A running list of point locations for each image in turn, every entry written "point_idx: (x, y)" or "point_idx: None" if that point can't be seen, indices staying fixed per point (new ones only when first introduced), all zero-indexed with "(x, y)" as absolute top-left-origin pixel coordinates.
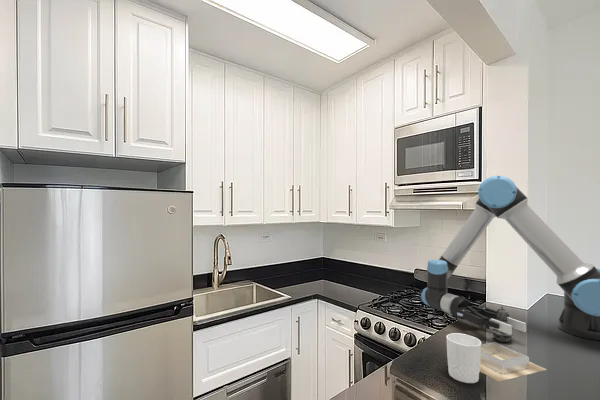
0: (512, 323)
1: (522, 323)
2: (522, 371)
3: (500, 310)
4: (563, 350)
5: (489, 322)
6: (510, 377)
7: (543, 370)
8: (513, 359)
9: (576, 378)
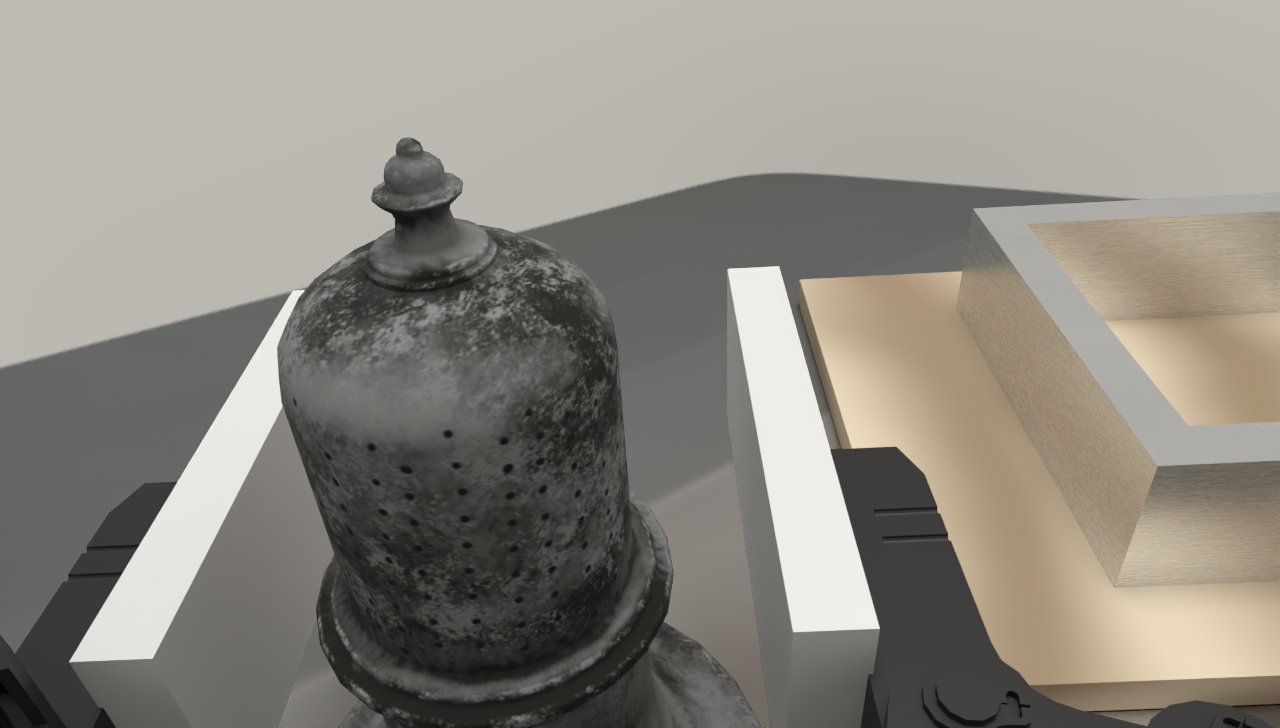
0: (285, 541)
1: None
2: None
3: (570, 264)
4: (28, 498)
5: (980, 632)
6: None
7: (845, 279)
8: (1194, 202)
9: (654, 243)
